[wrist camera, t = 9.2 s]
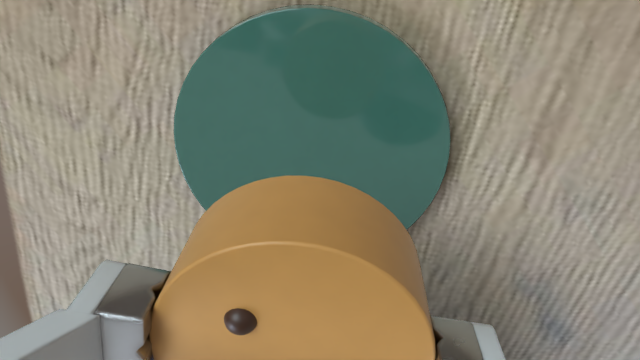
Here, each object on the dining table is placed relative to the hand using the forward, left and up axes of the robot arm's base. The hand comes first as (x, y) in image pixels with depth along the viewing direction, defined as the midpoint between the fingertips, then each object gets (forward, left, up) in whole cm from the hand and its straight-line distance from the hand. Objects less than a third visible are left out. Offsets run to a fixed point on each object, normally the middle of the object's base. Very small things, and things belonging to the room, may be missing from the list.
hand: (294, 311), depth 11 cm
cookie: (0, 0, -1) cm, 1 cm away
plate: (+1, 0, -11) cm, 11 cm away
